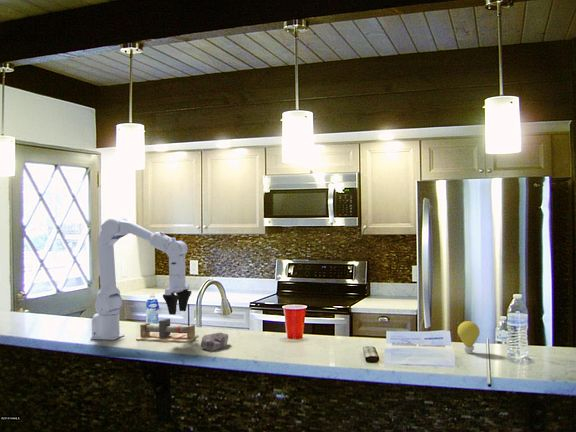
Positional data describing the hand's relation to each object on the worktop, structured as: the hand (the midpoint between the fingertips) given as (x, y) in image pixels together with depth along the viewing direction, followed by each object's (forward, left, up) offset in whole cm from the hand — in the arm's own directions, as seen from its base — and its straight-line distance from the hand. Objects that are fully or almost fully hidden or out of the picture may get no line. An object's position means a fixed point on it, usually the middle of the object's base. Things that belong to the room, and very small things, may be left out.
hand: (177, 312), depth 207 cm
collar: (-7, +3, -10) cm, 12 cm away
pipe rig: (-6, +3, -10) cm, 12 cm away
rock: (+16, -6, -10) cm, 20 cm away
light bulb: (+99, +3, -10) cm, 100 cm away
